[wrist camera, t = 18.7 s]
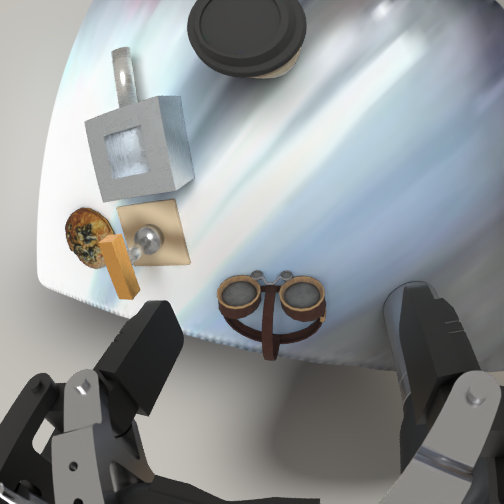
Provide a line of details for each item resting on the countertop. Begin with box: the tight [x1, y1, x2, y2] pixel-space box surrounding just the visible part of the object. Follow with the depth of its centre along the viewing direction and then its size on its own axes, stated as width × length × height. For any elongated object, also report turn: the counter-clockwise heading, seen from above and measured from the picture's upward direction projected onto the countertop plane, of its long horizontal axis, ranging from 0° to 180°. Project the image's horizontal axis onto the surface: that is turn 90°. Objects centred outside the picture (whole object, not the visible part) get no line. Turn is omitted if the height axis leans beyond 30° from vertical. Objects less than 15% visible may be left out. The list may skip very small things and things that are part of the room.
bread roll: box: [65, 208, 114, 269], centre depth 44 cm, size 11×11×5 cm
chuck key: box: [98, 224, 164, 300], centre depth 37 cm, size 4×8×10 cm, turn 8°
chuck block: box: [85, 47, 195, 202], centre depth 32 cm, size 19×11×6 cm, turn 8°
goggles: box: [217, 270, 326, 361], centre depth 42 cm, size 15×13×10 cm
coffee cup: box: [187, 0, 306, 78], centre depth 22 cm, size 9×9×15 cm
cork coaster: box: [116, 199, 191, 266], centre depth 42 cm, size 10×10×1 cm
